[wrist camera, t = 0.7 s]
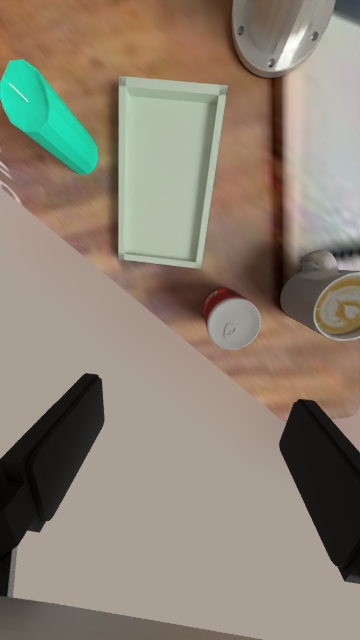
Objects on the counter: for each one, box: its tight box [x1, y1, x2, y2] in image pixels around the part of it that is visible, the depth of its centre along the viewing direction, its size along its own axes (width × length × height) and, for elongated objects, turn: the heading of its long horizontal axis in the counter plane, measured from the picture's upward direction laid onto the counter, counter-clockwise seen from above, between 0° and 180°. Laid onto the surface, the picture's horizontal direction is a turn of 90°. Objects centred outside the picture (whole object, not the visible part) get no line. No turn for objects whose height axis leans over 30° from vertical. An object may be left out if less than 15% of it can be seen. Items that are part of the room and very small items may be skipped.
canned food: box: [203, 288, 261, 350], centre depth 30 cm, size 8×8×11 cm
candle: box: [0, 59, 98, 174], centre depth 24 cm, size 6×6×12 cm
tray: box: [118, 76, 227, 269], centre depth 29 cm, size 24×15×2 cm, turn 173°
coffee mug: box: [280, 250, 360, 341], centre depth 29 cm, size 13×10×10 cm
